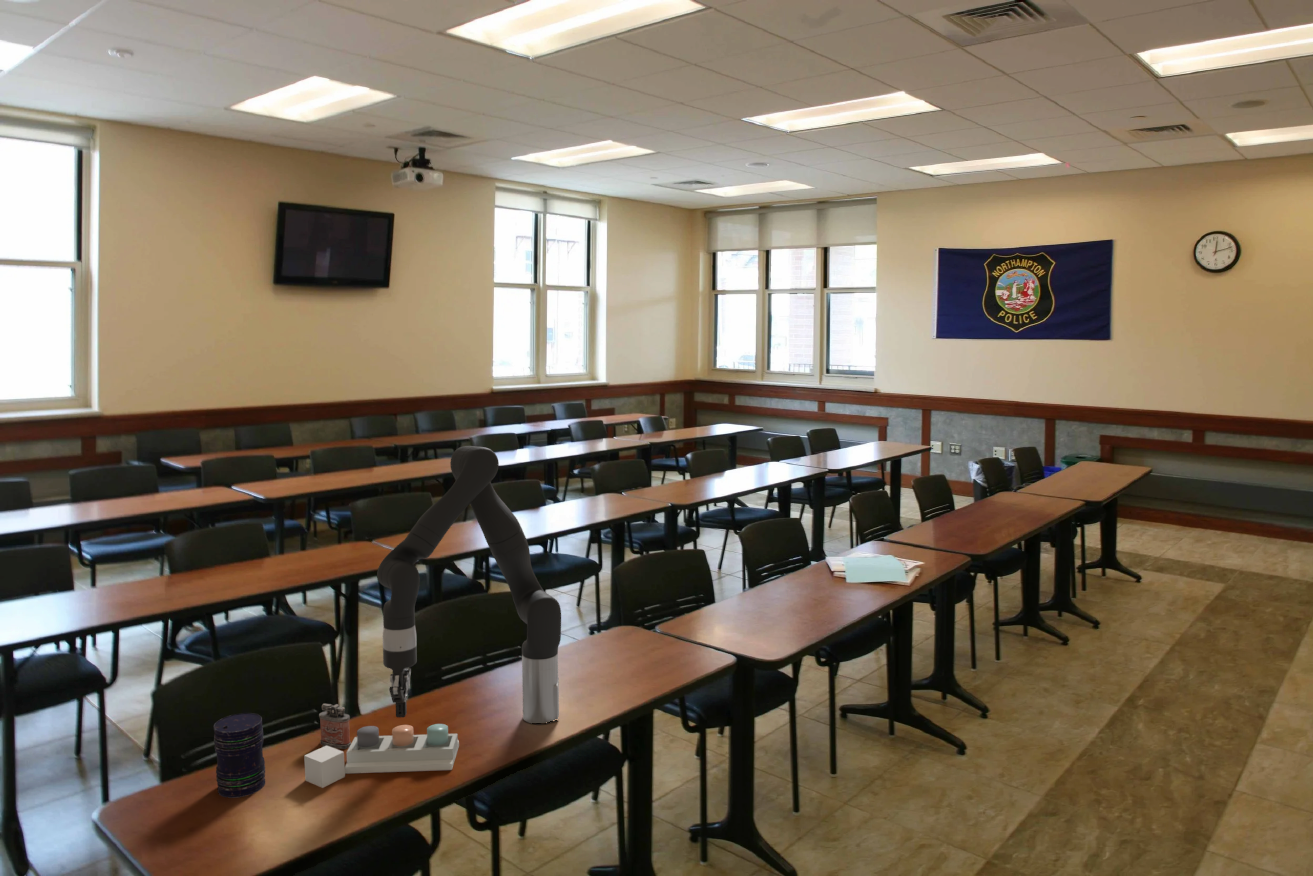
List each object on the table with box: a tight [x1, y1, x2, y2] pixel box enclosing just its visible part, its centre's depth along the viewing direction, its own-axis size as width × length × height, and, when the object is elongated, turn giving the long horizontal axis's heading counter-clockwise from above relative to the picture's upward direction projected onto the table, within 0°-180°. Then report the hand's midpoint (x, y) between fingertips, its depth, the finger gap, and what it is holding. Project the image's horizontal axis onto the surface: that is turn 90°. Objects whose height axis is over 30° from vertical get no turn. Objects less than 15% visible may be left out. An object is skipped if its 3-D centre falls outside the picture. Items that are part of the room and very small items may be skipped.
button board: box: [344, 733, 460, 775], centre depth 217 cm, size 24×12×4 cm, turn 94°
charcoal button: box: [356, 725, 380, 747], centre depth 216 cm, size 5×5×3 cm
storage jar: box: [213, 712, 266, 799], centre depth 203 cm, size 10×10×15 cm
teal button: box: [426, 723, 449, 745], centre depth 217 cm, size 5×5×3 cm
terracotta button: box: [391, 724, 415, 746], centre depth 216 cm, size 5×5×3 cm
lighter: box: [318, 703, 352, 750], centre depth 224 cm, size 8×3×10 cm, turn 71°
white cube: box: [304, 745, 346, 789], centre depth 208 cm, size 6×6×6 cm
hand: (401, 716), depth 216 cm, fingers closed
